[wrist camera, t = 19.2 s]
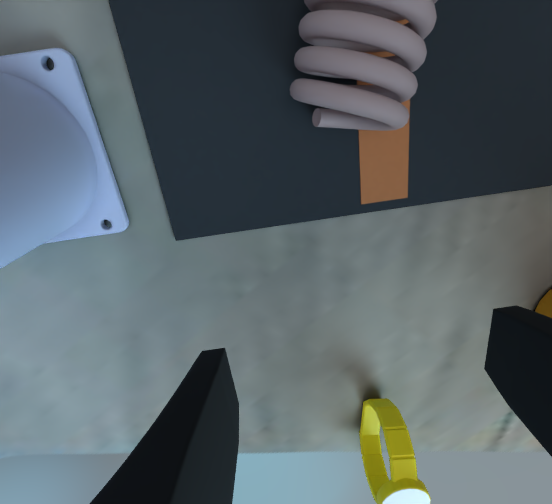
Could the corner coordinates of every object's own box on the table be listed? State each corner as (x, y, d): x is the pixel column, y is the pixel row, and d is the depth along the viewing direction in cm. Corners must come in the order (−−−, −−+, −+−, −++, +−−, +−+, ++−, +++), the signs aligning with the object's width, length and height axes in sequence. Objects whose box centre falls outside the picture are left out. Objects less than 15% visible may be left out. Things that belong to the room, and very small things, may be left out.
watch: (383, 442, 24) (420, 539, 19) (346, 444, 24) (373, 541, 18) (396, 381, 22) (442, 471, 16) (355, 382, 22) (388, 473, 16)
